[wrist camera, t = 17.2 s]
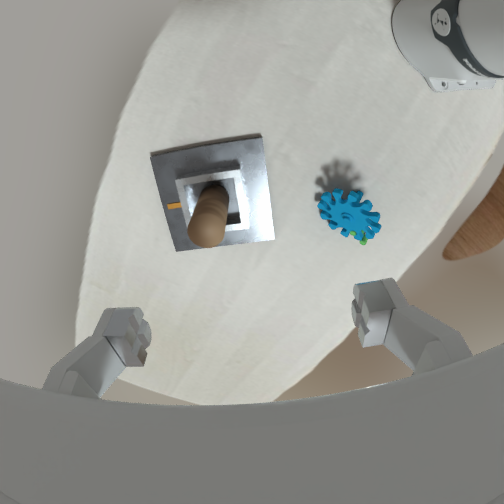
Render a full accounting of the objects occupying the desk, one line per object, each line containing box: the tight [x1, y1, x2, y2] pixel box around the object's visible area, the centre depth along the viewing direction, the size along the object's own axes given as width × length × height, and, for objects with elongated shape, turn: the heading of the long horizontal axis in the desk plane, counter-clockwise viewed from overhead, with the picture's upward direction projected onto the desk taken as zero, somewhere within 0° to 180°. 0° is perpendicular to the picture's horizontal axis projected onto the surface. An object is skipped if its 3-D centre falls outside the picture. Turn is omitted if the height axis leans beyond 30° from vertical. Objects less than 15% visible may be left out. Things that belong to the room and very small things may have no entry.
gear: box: [317, 188, 381, 245], centre depth 42 cm, size 11×6×10 cm
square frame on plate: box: [150, 137, 274, 252], centre depth 42 cm, size 16×16×3 cm
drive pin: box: [187, 185, 229, 248], centre depth 38 cm, size 4×4×10 cm
